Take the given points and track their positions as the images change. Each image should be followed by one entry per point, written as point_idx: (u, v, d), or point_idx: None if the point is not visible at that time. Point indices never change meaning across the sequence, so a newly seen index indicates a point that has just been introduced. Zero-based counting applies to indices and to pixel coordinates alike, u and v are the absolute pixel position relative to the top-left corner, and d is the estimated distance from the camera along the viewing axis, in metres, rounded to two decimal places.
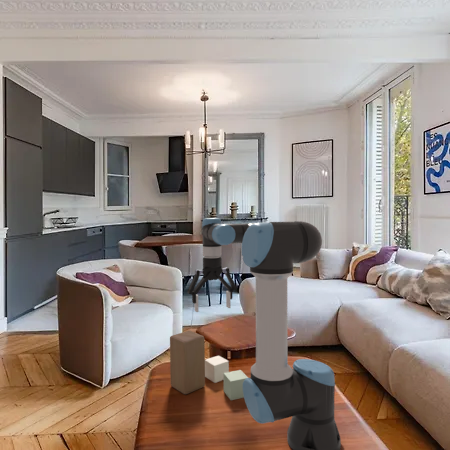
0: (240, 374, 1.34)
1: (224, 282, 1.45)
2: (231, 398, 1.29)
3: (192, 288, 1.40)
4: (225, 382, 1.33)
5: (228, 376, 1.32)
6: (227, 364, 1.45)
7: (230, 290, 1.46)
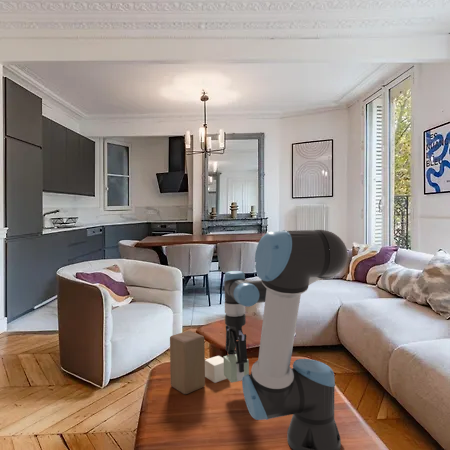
0: None
1: (236, 348, 1.29)
2: (231, 380, 1.28)
3: (226, 344, 1.37)
4: (225, 365, 1.32)
5: (228, 359, 1.31)
6: None
7: None
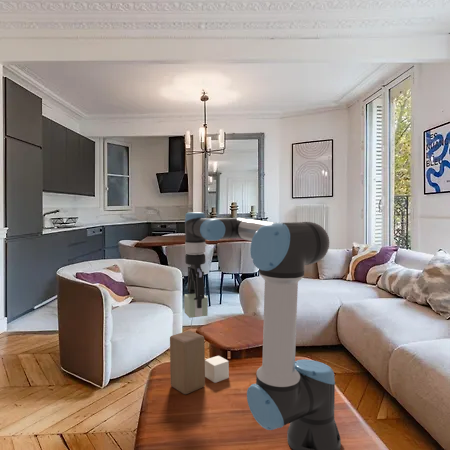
0: None
1: (194, 285, 1.33)
2: (190, 315, 1.32)
3: (188, 284, 1.42)
4: (185, 302, 1.37)
5: (188, 296, 1.35)
6: (227, 364, 1.45)
7: None
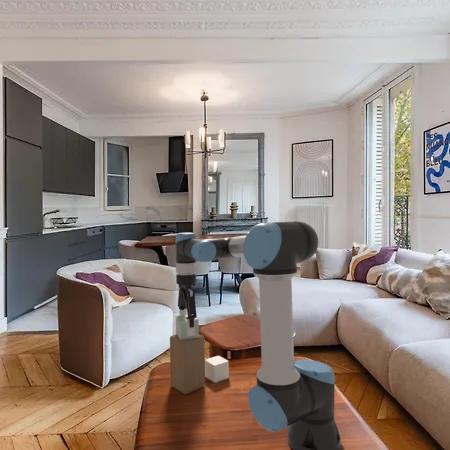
0: None
1: (186, 305, 1.33)
2: (181, 338, 1.33)
3: (178, 301, 1.44)
4: (177, 324, 1.38)
5: (179, 318, 1.36)
6: (227, 364, 1.45)
7: (188, 316, 1.31)
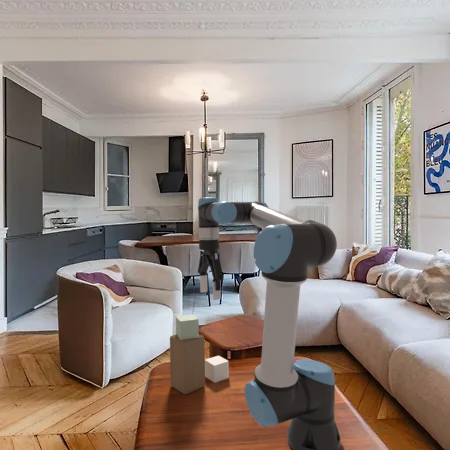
0: (192, 316, 1.39)
1: (211, 269, 1.30)
2: (181, 338, 1.33)
3: (198, 267, 1.42)
4: (177, 324, 1.38)
5: (179, 318, 1.36)
6: (227, 364, 1.45)
7: None
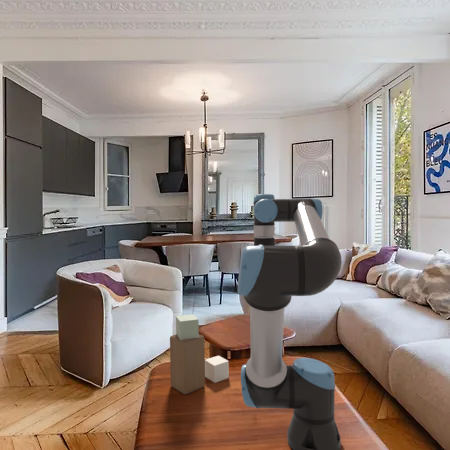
0: (192, 316, 1.38)
1: None
2: (181, 338, 1.33)
3: None
4: (177, 324, 1.38)
5: (179, 318, 1.36)
6: (227, 364, 1.45)
7: None
